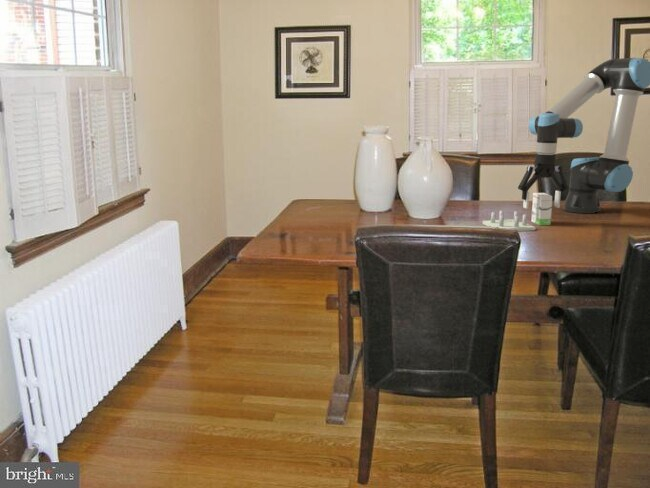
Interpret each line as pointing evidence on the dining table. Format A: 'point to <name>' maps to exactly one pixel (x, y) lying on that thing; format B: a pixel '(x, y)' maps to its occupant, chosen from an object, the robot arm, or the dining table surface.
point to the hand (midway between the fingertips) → (541, 207)
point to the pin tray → (509, 222)
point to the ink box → (541, 209)
